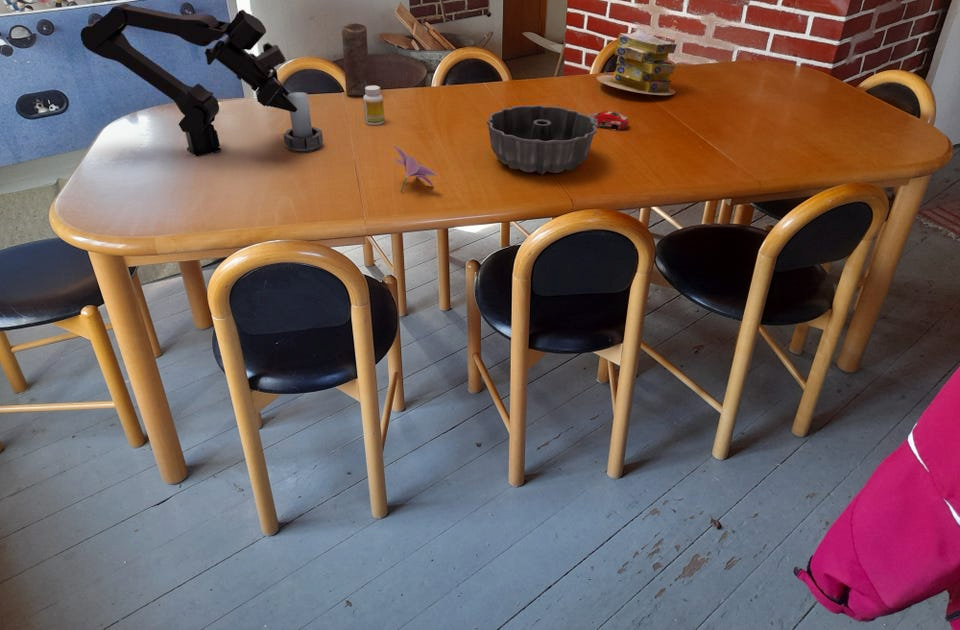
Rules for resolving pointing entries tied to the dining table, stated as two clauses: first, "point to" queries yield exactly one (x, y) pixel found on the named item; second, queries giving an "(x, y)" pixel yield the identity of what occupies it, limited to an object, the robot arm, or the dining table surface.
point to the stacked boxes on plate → (642, 64)
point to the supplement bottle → (373, 106)
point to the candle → (355, 59)
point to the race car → (609, 120)
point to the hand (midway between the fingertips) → (294, 105)
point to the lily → (413, 167)
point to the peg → (300, 115)
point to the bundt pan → (541, 137)
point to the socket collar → (303, 141)
